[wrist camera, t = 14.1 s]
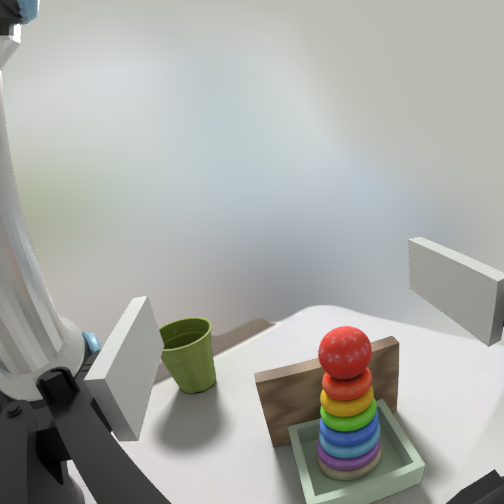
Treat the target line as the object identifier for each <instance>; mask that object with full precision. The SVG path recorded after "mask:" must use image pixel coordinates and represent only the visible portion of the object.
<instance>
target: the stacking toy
mask: <svg viewBox="0 0 504 504" xmlns="http://www.w3.org/2000/svg"><path fill="white" fill-rule="evenodd" d="M371 354H372V348H371V344H370V341H369V339H368V337H367V336H366V335H365V334H364V333H363V332H362V331H361V330H359V329H357V328H355V327H350V326H343V327H338V328H335V329H333V330H332V331H330V332H329V333H328V334H327V335H325V337H324V338H323V339H322V341H321V343H320V346H319V351H318V357H319V362H320V364H321V366H322V368H323V369H324V371H325V372H326V373H325V374H324V376H323V380H322V387H323V390H322V392H321V396H320V402H321V409H320V414H321V419H320V433H319V440H318V443H317V463H318V466H319V468H320V470H321V471H322V472H323V473H324V474H325V475H327V476H329V477H331V478H333V479H337V480H344V481H347V480H355V479H358V478H361V477H364V476H366V475H367V474H369V473H370V472H372V471H373V470H374V469H375V468H376V467H377V465H378V464H379V462H380V460H381V458H382V445H381V443H380V426H379V417H378V413H377V411H376V409H377V405H376V401H375V399H374V397H373V396H374V392H373V388H372V386H371V383H372V374H371V372H370V370H369V369H368V368H367V366H368V364H369V362H370V359H371Z"/></svg>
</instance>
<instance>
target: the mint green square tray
mask: <svg viewBox="0 0 504 504" xmlns="http://www.w3.org/2000/svg"><path fill="white" fill-rule="evenodd" d="M376 405H377V409H376V411H377V413H378V417H379V426H380V443H381V445H382V458H381V460H380V462H379V464H378V465H377V467H376V468H375V469H374V470H373V471H372V472H370V473H369V474H367V475H366V476H364V477H361V478H358V479H355V480H347V481H344V480H337V479H333V478H331V477H329V476H327V475H325V474H324V473H323V472H322V471H321V470H320V468H319V466H318V463H317V443H318V440H319V433H320V419H321V418H319V419H315V420H312V421H308V422H304V423H300V424H296V425H291V426H288V430H289V435H290V439H291V444H292V448H293V452H294V456H295V460H296V464H297V468H298V472H299V476H300V480H301V484H302V489H303V493H304V497H305V501H306V504H369V503H372V502H375V501H377V500H380V499H383V498H385V497H388V496H391V495H393V494H396V493H398V492H401V491H403V490H405V489H408V488H410V487H412V486H414V485H417V484H419V483H420V482H421V479H422V475H423V472H424V468H425V463H424V462H423V460H422V458H421V457H420V455H419V454H418V452H417V451H416V449H415V447H414V446H413V444H412V443H411V441H410V440H409V438H408V437H407V435H406V434H405V432H404V430H403V429H402V427H401V426H400V424H399V423H398V421H397V420H396V418H395V417H394V415H393V414H392V412H391V411H390V409H389V408H388V406H387V404H386V403H385V401H384V400H383V399H380V400H377V401H376Z"/></svg>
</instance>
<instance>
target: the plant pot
mask: <svg viewBox="0 0 504 504" xmlns="http://www.w3.org/2000/svg"><path fill="white" fill-rule="evenodd" d="M211 330H212V323H211V322H210V320H208V319H206V318H201V317H189V318H184V319H179V320H176V321H173V322H170V323H168V324H166V325H164V326H162V327H160V328H159V332H160V335H161V338H162V340H163V343H164V348H163V351H162V355H161V359H162V361H163V363H164V364H165V366H166V367H167V369H168V370H169V372H170V373H171V375H172V377H173V378H174V380H175V381H176V383H177V384H178V386H179V387H180V389H181V390H182V391H184V392H186V393H195V392H198V391H204V390H206V389H208V388H210V387H211V386H212V385H213V384H214V383H215V380H216V373H215V367H214V361H213V354H212V347H211Z"/></svg>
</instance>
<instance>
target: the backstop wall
mask: <svg viewBox="0 0 504 504" xmlns="http://www.w3.org/2000/svg"><path fill="white" fill-rule="evenodd" d="M370 344H371V348H372V354H371V359H370V362H369V364H368V366H367V368H368V369H369V370H370V372H371V374H372V383H371V386H372V388H373V392H374V396H373V397H374V399H375V401H377V400H380V399H383V400H384V401H385V403H386V404H387V406H388V408H389V409H390V411H391V412H395V411H396V410H397V396H398V375H399V342H398V341H397V340H396V339H395V338H394V337H393V336H390V337H387V338H384V339H381V340H378V341H375V342H371V343H370ZM325 373H326V372H325V371H324V369H323V368H322V366H321V364H320V362H319V358H316V359H313V360H309V361H305V362H301V363H297V364H293V365H289V366H285V367H280V368H276V369H272V370H267V371H263V372H258V373H254V376H255V383H256V386H257V390H258V394H259V398H260V401H261V405H262V409H263V412H264V416H265V419H266V423H267V427H268V430H269V434H270V437H271V441H272V444H273V447H276V446H281V445H285V444H290V443H291V439H290V435H289V430H288V426H291V425H296V424H300V423H304V422H308V421H312V420H315V419H319V418H321V414H320V409H321V402H320V396H321V392H322V390H323V387H322V380H323V376H324V374H325Z"/></svg>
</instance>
